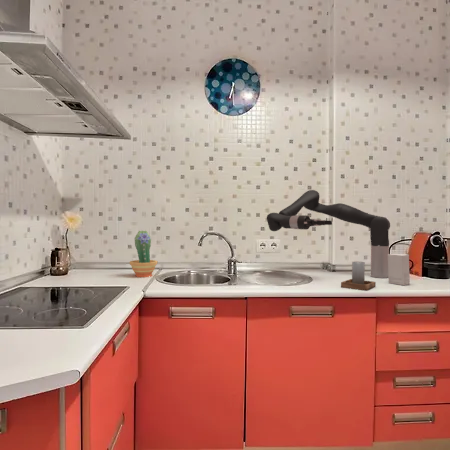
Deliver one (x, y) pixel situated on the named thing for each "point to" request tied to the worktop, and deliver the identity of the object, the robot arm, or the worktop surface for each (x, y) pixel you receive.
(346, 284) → the tray
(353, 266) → the grey upright block
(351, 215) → the robot arm
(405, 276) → the skincare box
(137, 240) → the potted cactus
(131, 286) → the worktop surface
